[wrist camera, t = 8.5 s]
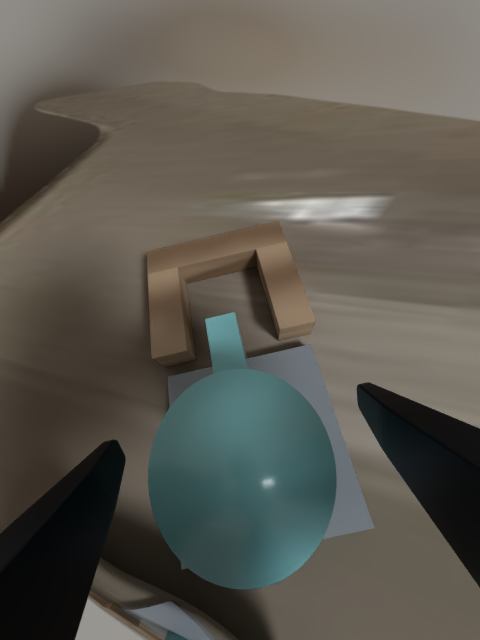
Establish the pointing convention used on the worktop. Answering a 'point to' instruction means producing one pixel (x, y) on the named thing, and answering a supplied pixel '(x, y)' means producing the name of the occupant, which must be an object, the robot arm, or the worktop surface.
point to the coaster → (307, 380)
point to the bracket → (215, 260)
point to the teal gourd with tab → (241, 471)
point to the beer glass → (141, 612)
